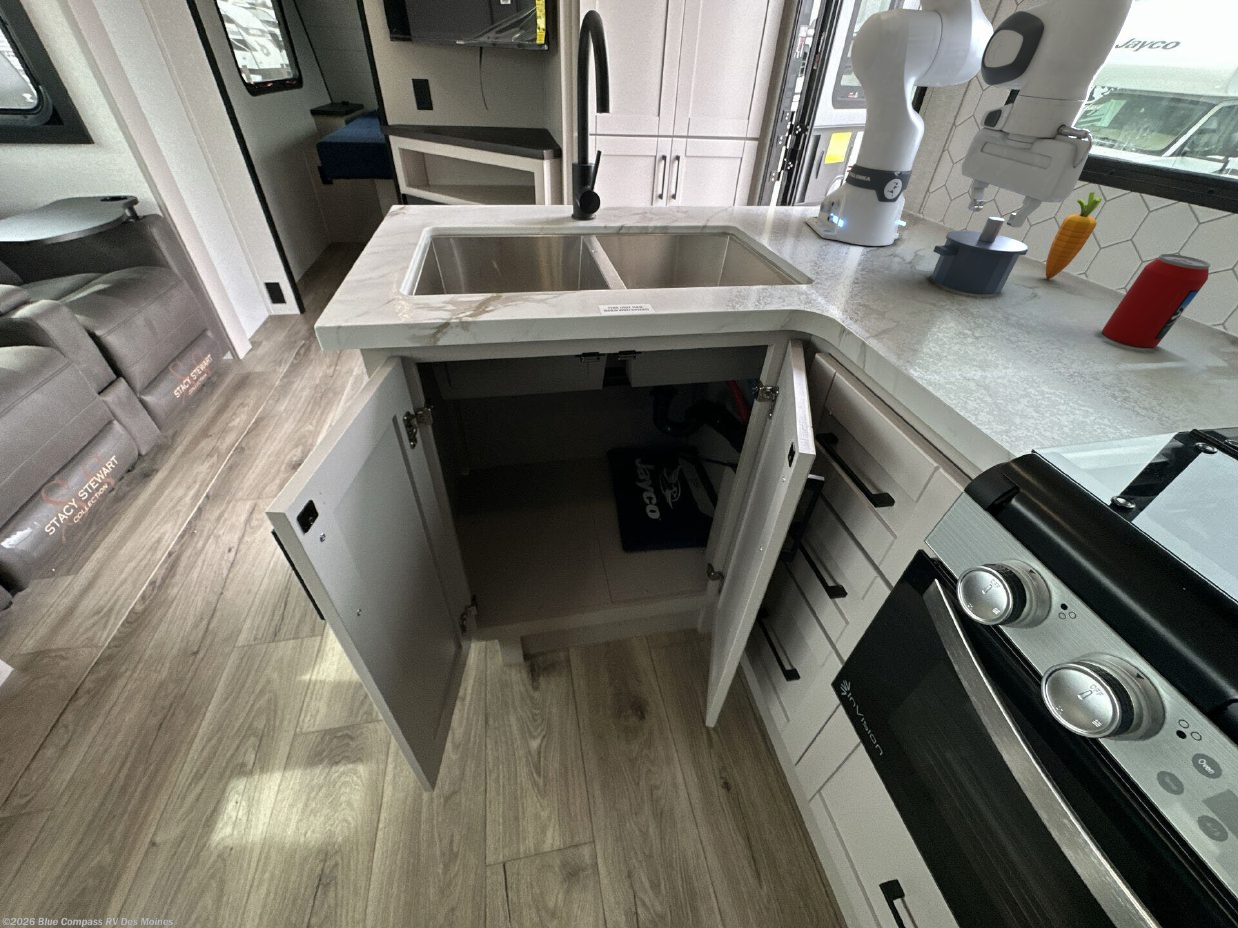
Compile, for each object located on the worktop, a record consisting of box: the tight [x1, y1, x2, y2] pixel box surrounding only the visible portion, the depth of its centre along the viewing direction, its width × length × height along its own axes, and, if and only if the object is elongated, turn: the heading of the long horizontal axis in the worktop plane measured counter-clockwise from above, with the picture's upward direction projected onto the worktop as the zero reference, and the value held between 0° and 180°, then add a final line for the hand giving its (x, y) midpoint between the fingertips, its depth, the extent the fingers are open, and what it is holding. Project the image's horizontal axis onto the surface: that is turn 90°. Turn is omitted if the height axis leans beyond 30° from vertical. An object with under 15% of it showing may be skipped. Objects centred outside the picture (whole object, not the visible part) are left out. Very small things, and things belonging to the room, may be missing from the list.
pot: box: [930, 239, 1029, 296], centre depth 91 cm, size 11×17×8 cm
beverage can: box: [1102, 253, 1211, 349], centre depth 73 cm, size 7×7×12 cm
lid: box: [945, 216, 1028, 254], centre depth 88 cm, size 12×12×5 cm
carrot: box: [1045, 191, 1103, 280], centre depth 95 cm, size 5×5×15 cm
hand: (992, 218), depth 87 cm, fingers open, 8 cm apart
